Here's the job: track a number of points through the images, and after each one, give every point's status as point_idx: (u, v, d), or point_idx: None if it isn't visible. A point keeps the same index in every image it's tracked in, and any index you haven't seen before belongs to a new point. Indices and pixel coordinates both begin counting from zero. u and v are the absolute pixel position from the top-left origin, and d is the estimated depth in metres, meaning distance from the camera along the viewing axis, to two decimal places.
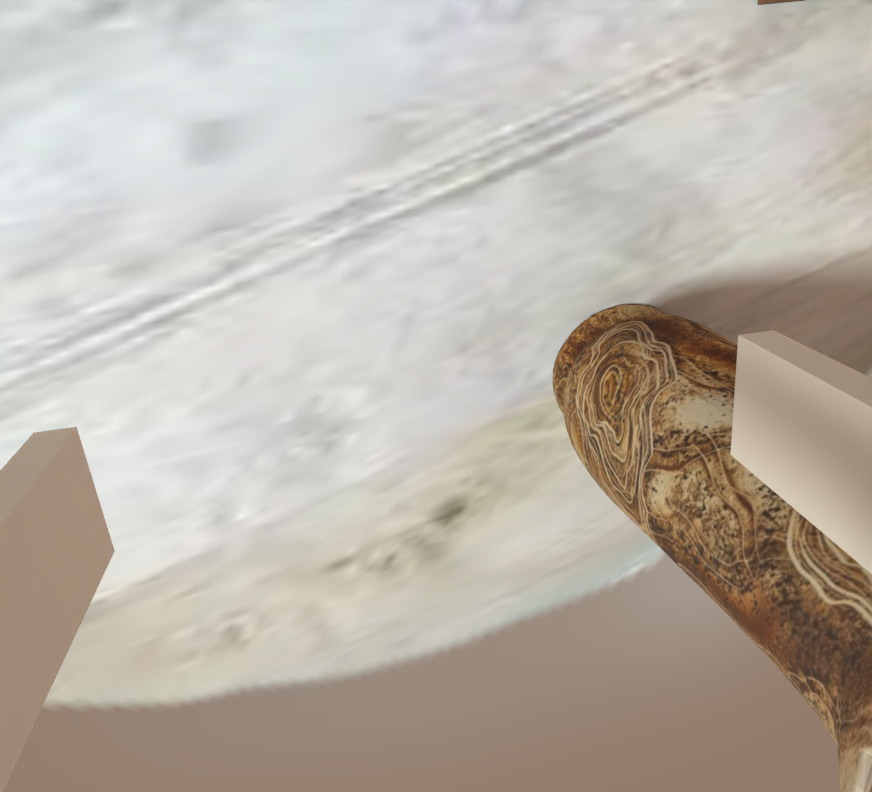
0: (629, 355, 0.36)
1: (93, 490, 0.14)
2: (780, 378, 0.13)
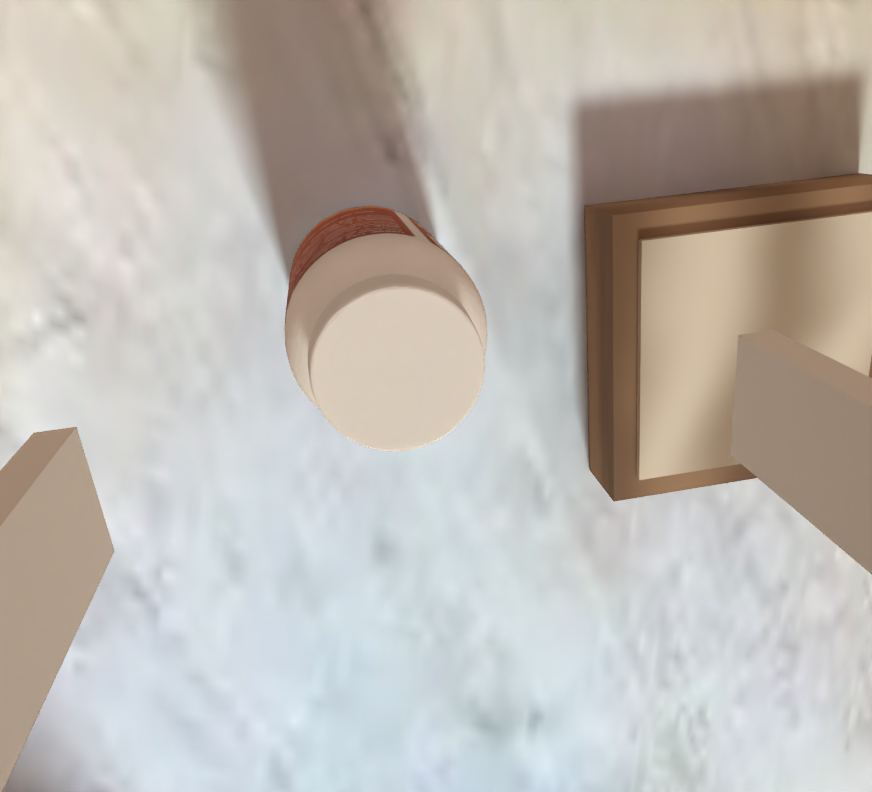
0: None
1: (92, 490, 0.14)
2: (779, 377, 0.13)
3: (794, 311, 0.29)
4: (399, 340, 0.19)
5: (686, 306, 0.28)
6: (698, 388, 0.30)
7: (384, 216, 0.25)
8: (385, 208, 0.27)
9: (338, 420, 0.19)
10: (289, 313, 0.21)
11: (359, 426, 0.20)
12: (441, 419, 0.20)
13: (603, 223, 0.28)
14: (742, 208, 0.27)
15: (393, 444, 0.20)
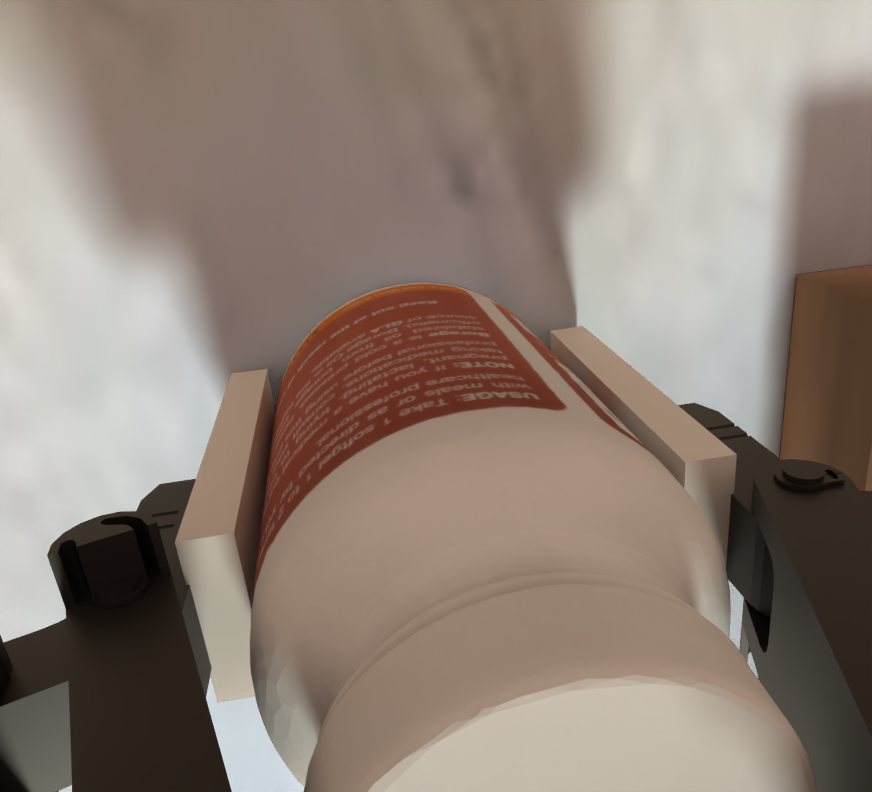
0: None
1: None
2: (571, 368, 0.15)
3: None
4: None
5: None
6: None
7: (463, 320, 0.12)
8: (453, 288, 0.15)
9: None
10: (259, 615, 0.08)
11: None
12: None
13: (855, 315, 0.15)
14: None
15: None
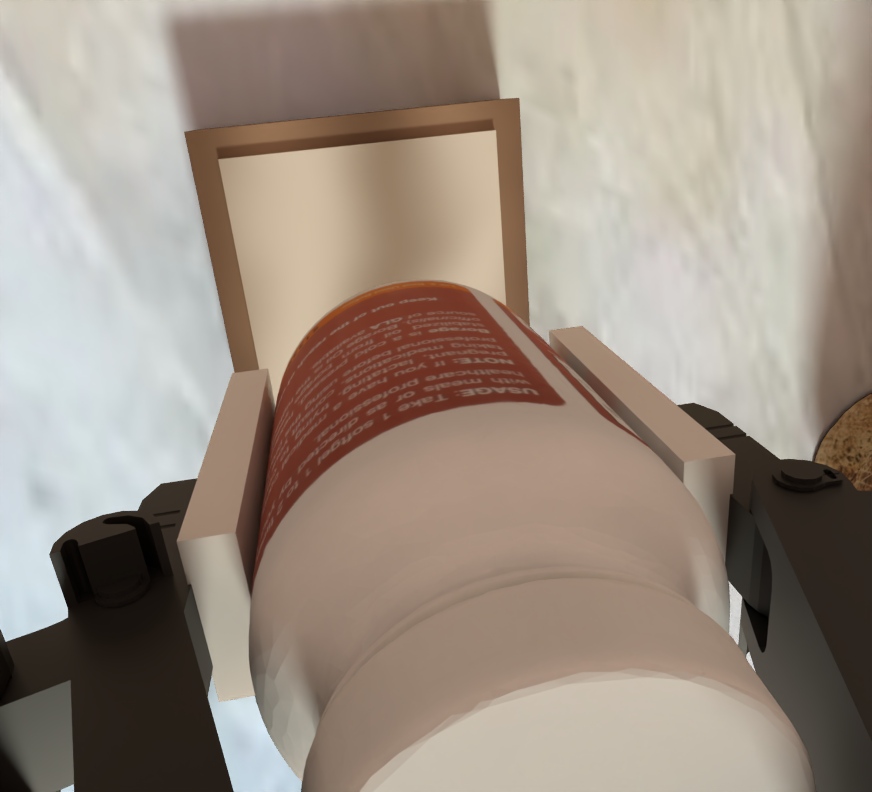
0: None
1: None
2: None
3: (408, 239, 0.28)
4: None
5: (283, 231, 0.27)
6: (315, 320, 0.28)
7: (463, 316, 0.12)
8: (454, 285, 0.15)
9: None
10: (257, 610, 0.08)
11: None
12: None
13: None
14: (331, 126, 0.26)
15: None
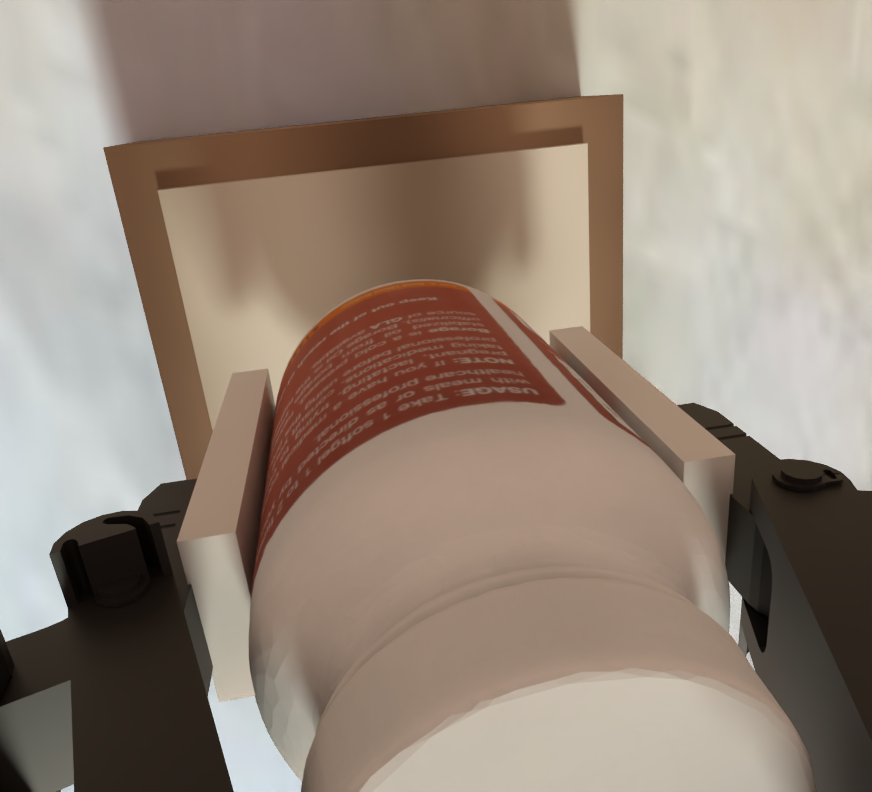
0: None
1: None
2: None
3: None
4: None
5: (262, 298, 0.18)
6: None
7: (463, 316, 0.12)
8: (454, 285, 0.15)
9: None
10: (257, 610, 0.08)
11: None
12: None
13: None
14: (334, 139, 0.17)
15: None
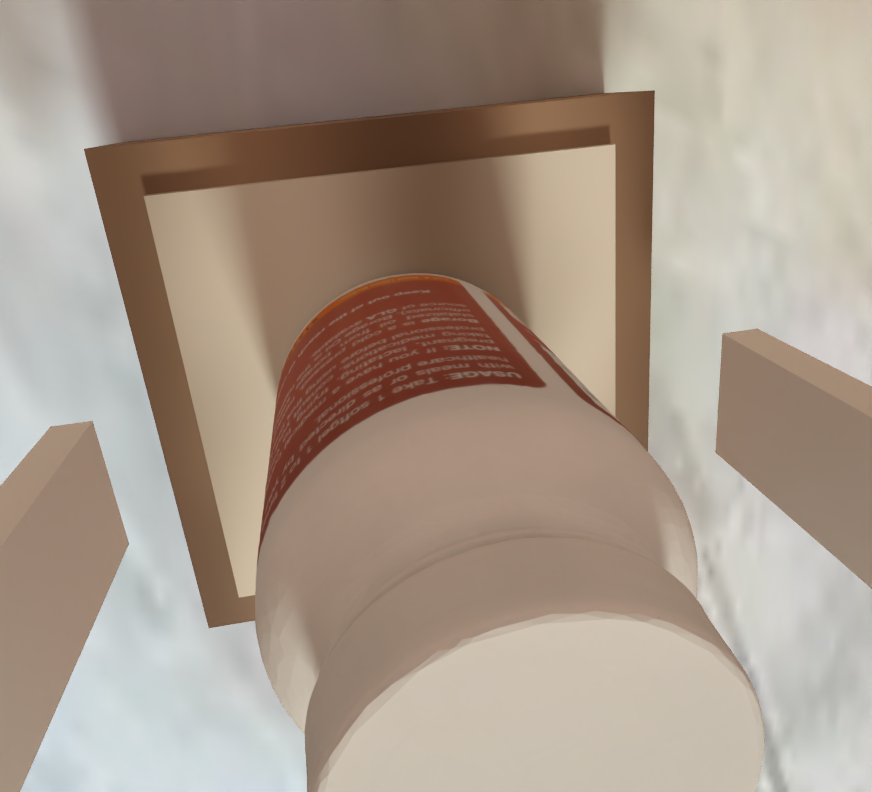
0: None
1: (107, 483, 0.14)
2: (762, 375, 0.14)
3: None
4: (555, 737, 0.07)
5: (259, 313, 0.16)
6: None
7: (454, 307, 0.13)
8: (446, 279, 0.15)
9: None
10: (263, 574, 0.09)
11: None
12: None
13: None
14: (338, 139, 0.15)
15: None
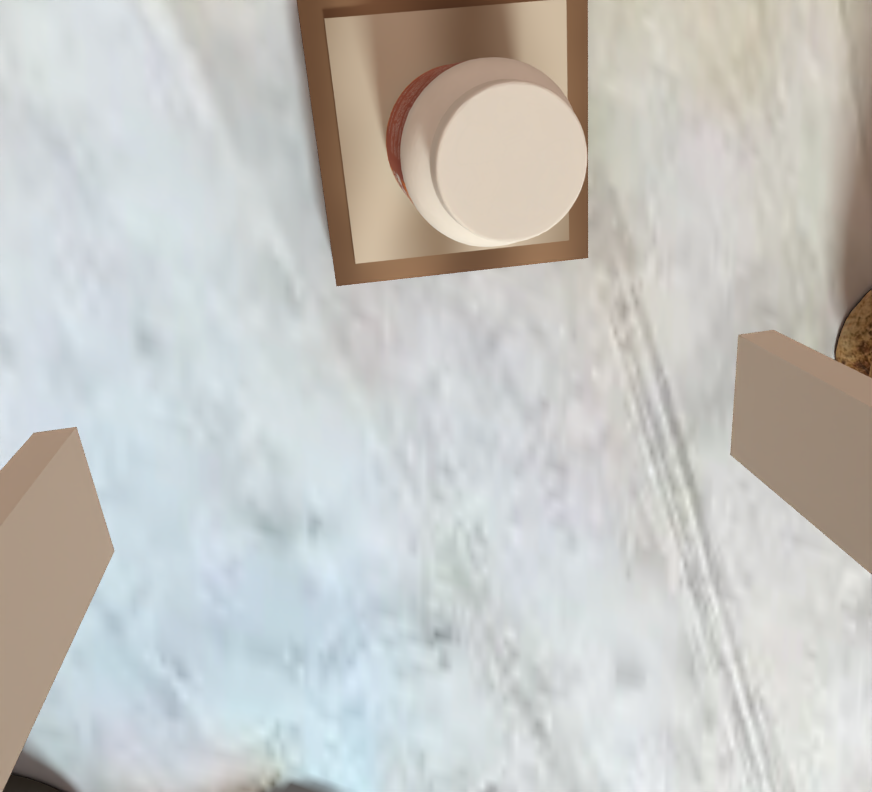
0: None
1: (92, 490, 0.14)
2: (779, 377, 0.13)
3: None
4: (515, 134, 0.21)
5: (377, 87, 0.31)
6: None
7: None
8: None
9: (457, 208, 0.22)
10: (408, 126, 0.24)
11: (475, 215, 0.22)
12: (546, 213, 0.22)
13: None
14: None
15: (503, 235, 0.23)
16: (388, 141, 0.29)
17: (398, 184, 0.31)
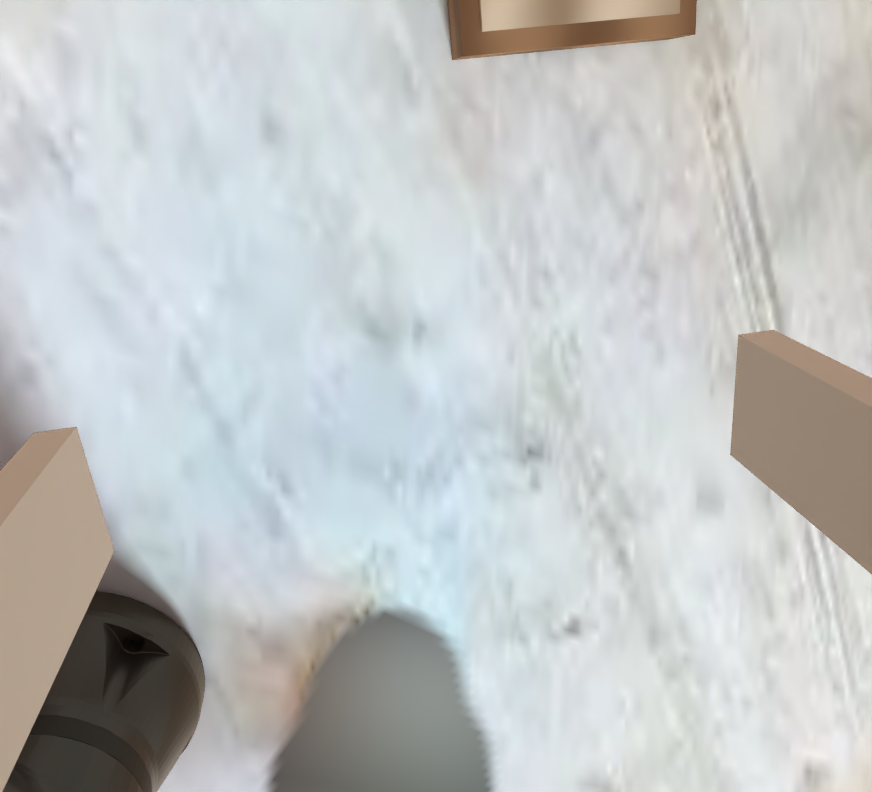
0: None
1: (92, 490, 0.14)
2: (779, 377, 0.13)
3: None
4: None
5: None
6: None
7: None
8: None
9: None
10: None
11: None
12: None
13: None
14: None
15: None
16: None
17: None
